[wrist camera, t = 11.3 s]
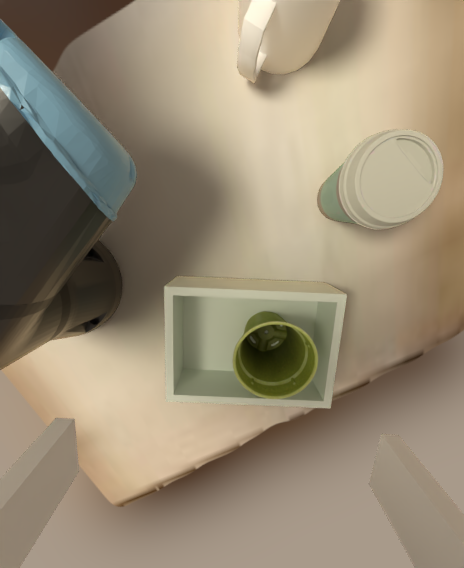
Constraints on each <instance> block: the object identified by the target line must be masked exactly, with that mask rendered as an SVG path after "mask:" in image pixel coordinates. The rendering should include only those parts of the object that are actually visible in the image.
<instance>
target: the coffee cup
mask: <svg viewBox="0 0 464 568" xmlns="http://www.w3.org/2000/svg"><path fill="white" fill-rule="evenodd" d="M442 179H443V161H442V157H441V154H440V151H439V149H438V148H437V146H436V144H435V143H434V142H433V141H432V140H431V139H430V138H429V137H427V136H426V135H425V134H423V133H420V132H418V131H415V130H408V129H405V130H387V131H383V132H380V133H377V134H374V135H372V136H370V137H368V138H366V139H365V140H363V141H362V142H361V143H359V144H358V145H357V146H356V147H355V148H354V149H353V150H352V152H351V153H350V154H349V156H348V157H347V159H346V161H345V162H344V163H343V164H342V165H341V166H340V167H339V168H338V169H337V170H336V171H335V172H334V173H333V174H332V175H331V176H330V177H329V178H328V179H327V180H326V181H325V182H324V183H323V184H322V186H321V187H320V189H319V192H318V197H317V203H318V207H319V209H320V211H321V213H322V214H323V215H324V216H325V217H327V218H329V219H331V220H336V221H342V222H348V223H355V224H359V225H361V226H363V227H366V228H369V229H375V230H384V229H390V228H394V227H397V226H400V225H402V224H405V223H406V222H408V221H410V220H411V219H413V218H414V217H416V216H417V215H419V214H420V213H422V212H423V211H424V210H425V209H426V208H427V207H428V206H429V205H430V204H431V203H432V201H433V200H434V199H435V197H436V195H437V193H438V191H439V189H440V186H441V183H442Z"/></svg>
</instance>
